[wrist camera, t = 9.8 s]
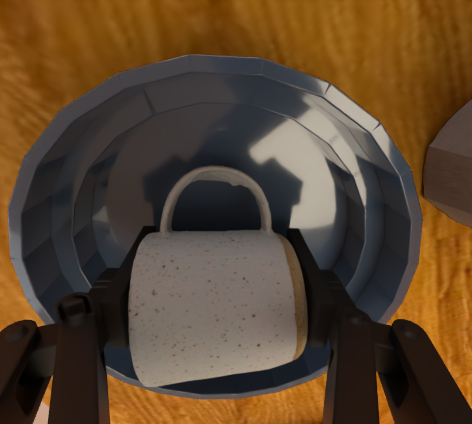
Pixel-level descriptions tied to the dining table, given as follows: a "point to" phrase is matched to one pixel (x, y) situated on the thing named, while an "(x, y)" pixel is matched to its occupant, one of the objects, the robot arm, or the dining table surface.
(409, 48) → the dining table surface
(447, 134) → the coffeepot
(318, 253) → the bowl
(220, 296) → the ceramic mug
